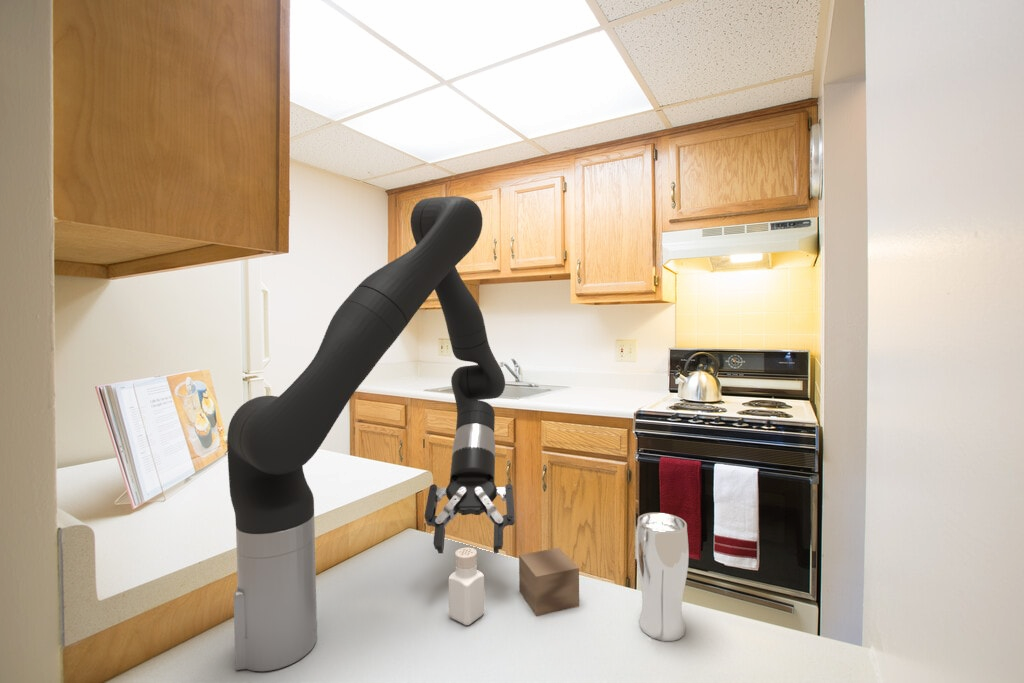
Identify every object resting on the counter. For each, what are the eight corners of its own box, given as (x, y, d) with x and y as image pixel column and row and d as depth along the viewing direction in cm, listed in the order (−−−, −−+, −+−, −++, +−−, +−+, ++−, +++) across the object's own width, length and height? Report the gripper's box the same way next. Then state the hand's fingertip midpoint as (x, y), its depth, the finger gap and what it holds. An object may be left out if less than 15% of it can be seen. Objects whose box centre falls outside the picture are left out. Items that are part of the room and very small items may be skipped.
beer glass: (681, 613, 69) (681, 512, 69) (694, 645, 62) (694, 533, 62) (632, 611, 70) (632, 511, 70) (640, 642, 63) (640, 531, 63)
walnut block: (536, 617, 69) (536, 576, 69) (519, 591, 76) (519, 554, 76) (579, 607, 72) (579, 567, 71) (559, 583, 78) (558, 547, 78)
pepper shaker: (467, 628, 66) (466, 561, 66) (447, 618, 69) (446, 553, 69) (486, 614, 70) (485, 550, 69) (466, 605, 72) (465, 543, 72)
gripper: (430, 445, 80) (417, 542, 69) (514, 444, 80) (514, 542, 69) (435, 467, 86) (425, 560, 75) (514, 466, 86) (515, 559, 75)
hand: (468, 551), depth 72 cm, fingers open, 8 cm apart
